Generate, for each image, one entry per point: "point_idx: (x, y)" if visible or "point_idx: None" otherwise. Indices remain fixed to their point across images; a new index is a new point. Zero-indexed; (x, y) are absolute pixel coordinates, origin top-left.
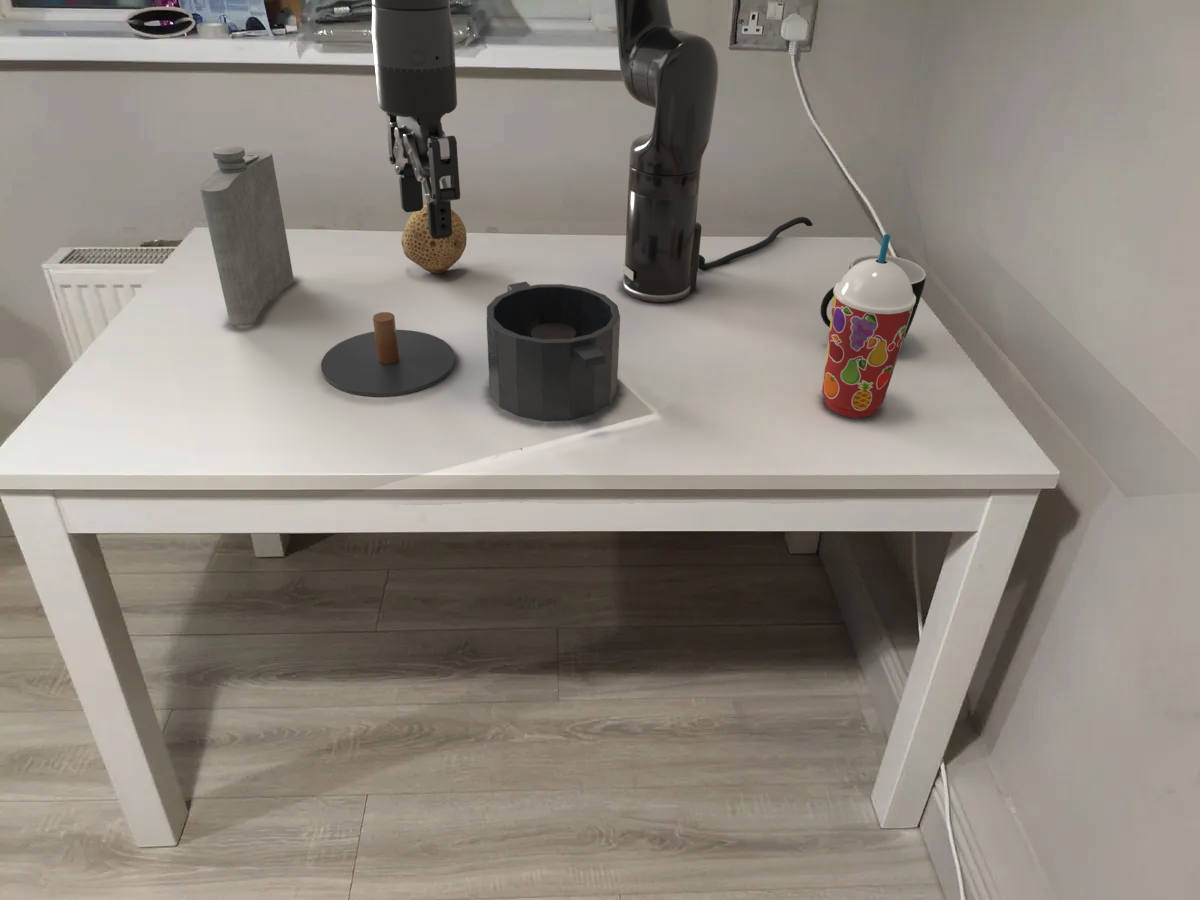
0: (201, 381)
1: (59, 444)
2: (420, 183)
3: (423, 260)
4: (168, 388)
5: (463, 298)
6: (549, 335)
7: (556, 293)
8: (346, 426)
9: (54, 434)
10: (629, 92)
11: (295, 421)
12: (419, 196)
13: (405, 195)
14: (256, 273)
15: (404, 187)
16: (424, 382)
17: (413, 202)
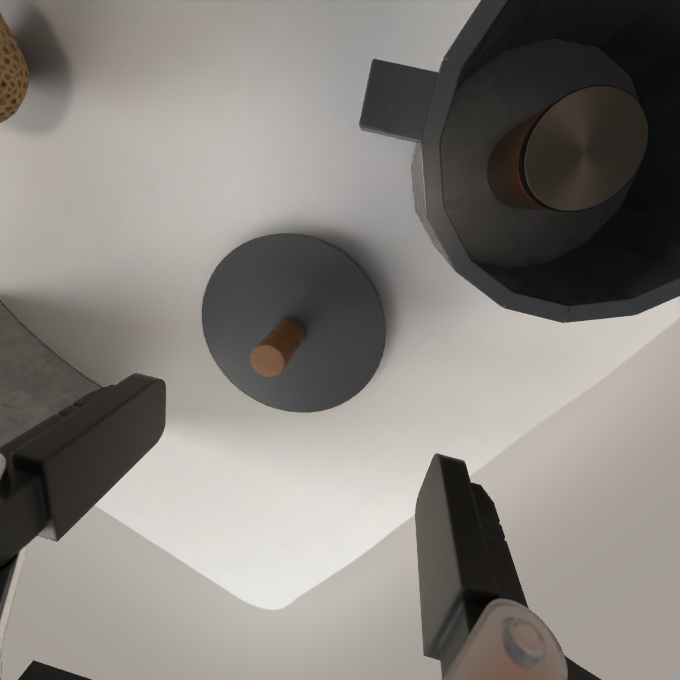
0: (212, 482)
1: (259, 585)
2: (80, 442)
3: (10, 111)
4: (211, 505)
5: (131, 84)
6: (586, 170)
7: (495, 21)
8: (388, 434)
9: (242, 582)
10: None
11: (343, 462)
12: (127, 413)
13: (121, 468)
14: (19, 394)
15: (94, 496)
16: (378, 330)
17: (143, 424)
